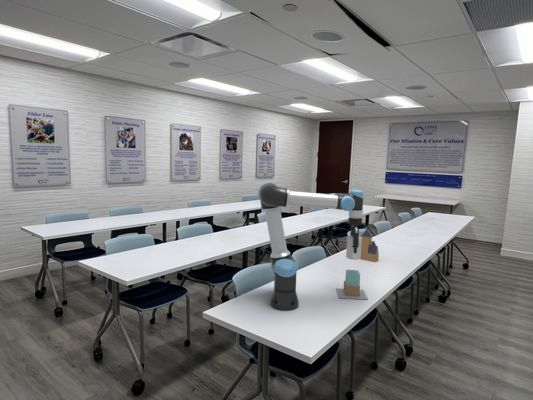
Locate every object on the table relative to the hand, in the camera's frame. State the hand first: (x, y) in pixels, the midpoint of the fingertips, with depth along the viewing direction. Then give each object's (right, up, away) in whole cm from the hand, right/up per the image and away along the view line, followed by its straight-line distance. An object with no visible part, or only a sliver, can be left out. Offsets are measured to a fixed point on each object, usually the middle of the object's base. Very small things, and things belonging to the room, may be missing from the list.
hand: (353, 256), depth 195 cm
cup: (0, -1, 0) cm, 1 cm away
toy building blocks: (+35, -15, +79) cm, 88 cm away
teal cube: (0, -16, +2) cm, 16 cm away
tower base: (0, -23, +3) cm, 23 cm away
